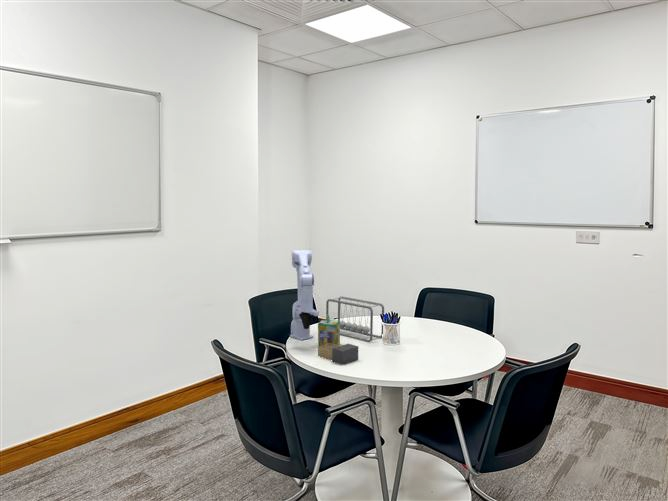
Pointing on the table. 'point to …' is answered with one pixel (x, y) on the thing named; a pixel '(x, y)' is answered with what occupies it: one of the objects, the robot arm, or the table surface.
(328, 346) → the brown open box
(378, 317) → the table surface
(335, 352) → the dark grey rectangular block
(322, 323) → the green multicoloured upright block
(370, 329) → the newton's cradle
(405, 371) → the table surface
